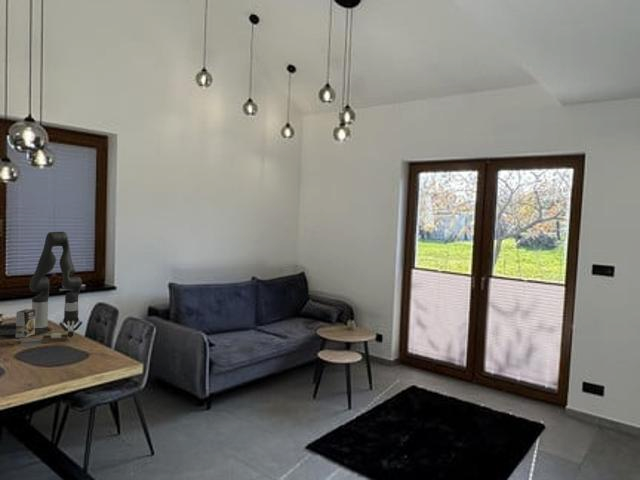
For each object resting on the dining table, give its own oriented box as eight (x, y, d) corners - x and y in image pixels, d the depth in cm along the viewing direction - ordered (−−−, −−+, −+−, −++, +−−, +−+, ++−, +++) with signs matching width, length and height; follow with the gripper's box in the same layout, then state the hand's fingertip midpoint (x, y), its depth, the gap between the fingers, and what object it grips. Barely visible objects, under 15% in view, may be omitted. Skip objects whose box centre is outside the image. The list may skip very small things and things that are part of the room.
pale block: (51, 339, 276) (51, 333, 276) (61, 339, 278) (61, 332, 278) (50, 342, 271) (50, 335, 271) (60, 341, 273) (60, 334, 273)
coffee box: (25, 338, 278) (26, 312, 277) (15, 337, 278) (15, 311, 277) (35, 334, 287) (35, 309, 286) (25, 333, 287) (25, 308, 286)
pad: (22, 340, 272) (22, 339, 272) (43, 339, 277) (43, 338, 277) (19, 346, 262) (19, 345, 261) (41, 345, 266) (41, 344, 266)
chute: (43, 339, 277) (43, 334, 277) (67, 338, 283) (68, 333, 283) (41, 345, 266) (41, 339, 266) (66, 343, 272) (66, 338, 272)
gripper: (83, 307, 283) (82, 335, 284) (59, 308, 278) (58, 336, 278) (83, 310, 277) (82, 338, 277) (58, 311, 271) (57, 339, 272)
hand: (70, 337), depth 278 cm, fingers closed
